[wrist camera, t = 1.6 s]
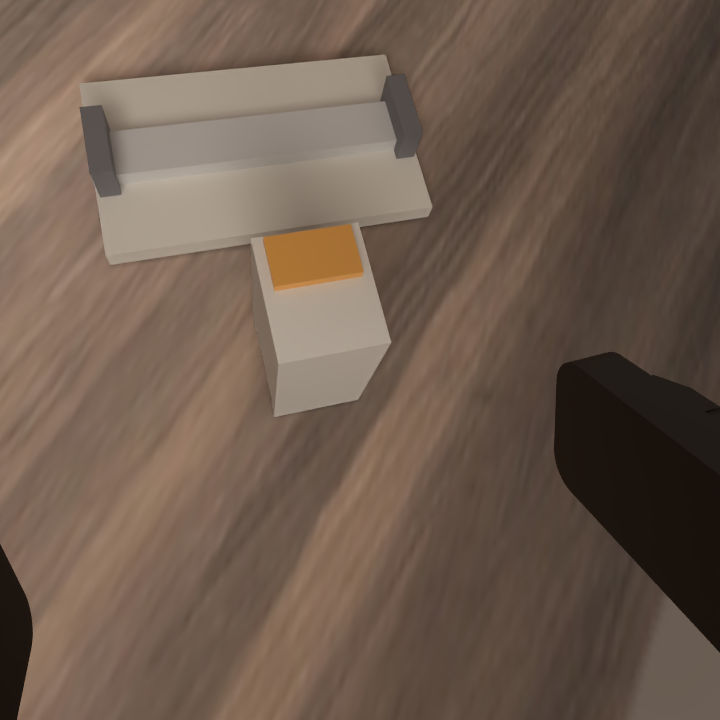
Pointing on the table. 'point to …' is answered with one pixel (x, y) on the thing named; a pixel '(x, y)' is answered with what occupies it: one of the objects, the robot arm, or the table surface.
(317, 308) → the rail module
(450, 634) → the table surface
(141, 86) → the mounting board
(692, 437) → the robot arm
